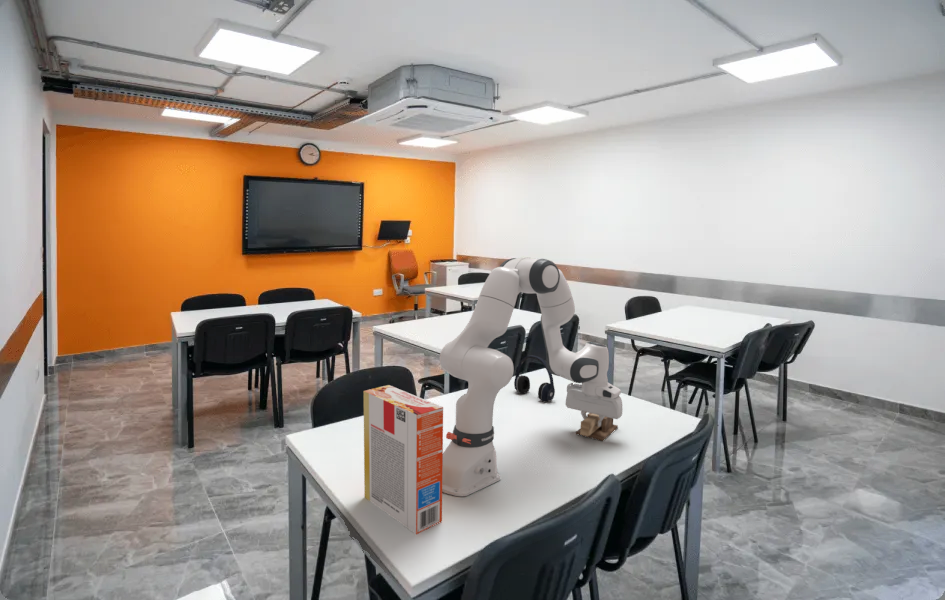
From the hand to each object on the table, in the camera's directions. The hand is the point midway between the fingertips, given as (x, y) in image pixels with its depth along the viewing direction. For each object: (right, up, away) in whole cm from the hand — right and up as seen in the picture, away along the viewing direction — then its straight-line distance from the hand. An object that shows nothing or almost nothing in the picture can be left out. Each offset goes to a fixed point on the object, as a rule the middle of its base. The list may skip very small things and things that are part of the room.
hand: (592, 424), depth 186 cm
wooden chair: (+3, -3, +5) cm, 6 cm away
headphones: (-16, +2, +42) cm, 45 cm away
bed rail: (0, -2, 0) cm, 2 cm away
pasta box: (-61, -10, -50) cm, 80 cm away
